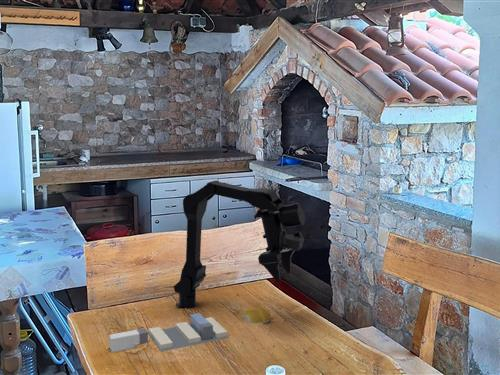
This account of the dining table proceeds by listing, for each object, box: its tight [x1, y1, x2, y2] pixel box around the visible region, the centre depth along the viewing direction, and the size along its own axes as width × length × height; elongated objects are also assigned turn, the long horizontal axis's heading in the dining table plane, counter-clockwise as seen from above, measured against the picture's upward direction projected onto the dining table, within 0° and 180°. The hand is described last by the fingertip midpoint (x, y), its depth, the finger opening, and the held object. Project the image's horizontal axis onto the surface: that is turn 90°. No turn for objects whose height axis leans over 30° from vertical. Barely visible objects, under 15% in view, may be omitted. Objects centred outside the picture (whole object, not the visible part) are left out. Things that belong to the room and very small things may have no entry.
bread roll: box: [241, 307, 271, 324], centre depth 183 cm, size 8×9×4 cm
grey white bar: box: [108, 328, 149, 353], centre depth 163 cm, size 10×3×4 cm, turn 117°
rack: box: [147, 316, 230, 353], centre depth 169 cm, size 14×21×2 cm, turn 117°
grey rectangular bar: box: [189, 312, 213, 340], centre depth 170 cm, size 10×3×4 cm, turn 27°
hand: (283, 277), depth 177 cm, fingers open, 9 cm apart
